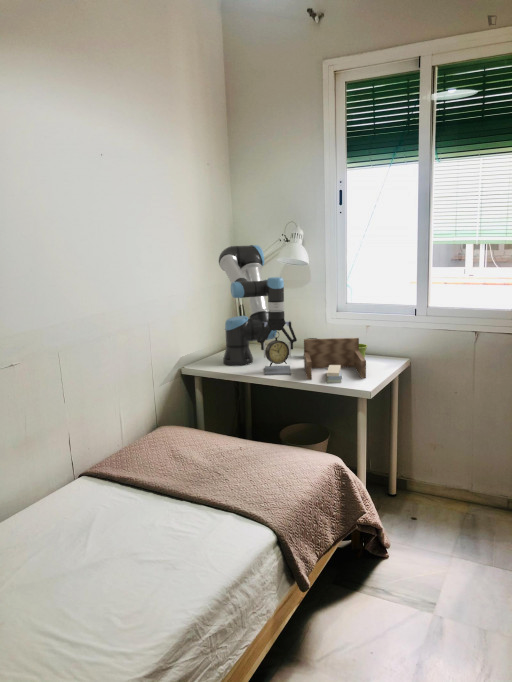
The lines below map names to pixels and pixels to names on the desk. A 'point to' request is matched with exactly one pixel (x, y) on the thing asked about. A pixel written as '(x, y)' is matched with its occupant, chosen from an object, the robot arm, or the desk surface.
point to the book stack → (334, 374)
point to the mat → (277, 370)
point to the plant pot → (362, 349)
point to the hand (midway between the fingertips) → (277, 356)
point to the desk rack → (333, 354)
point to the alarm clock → (277, 351)
